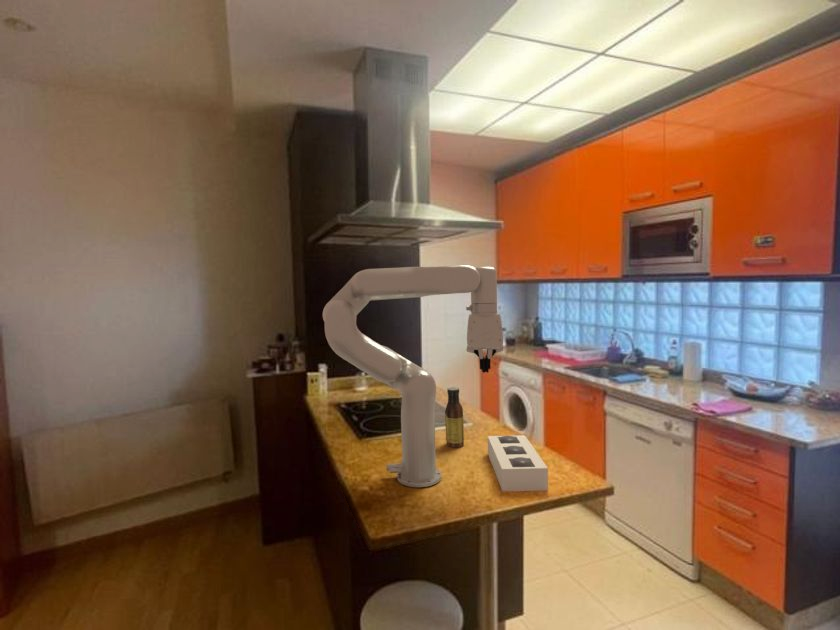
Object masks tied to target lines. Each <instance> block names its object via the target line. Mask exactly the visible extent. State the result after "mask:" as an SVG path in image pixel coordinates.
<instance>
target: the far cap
mask: <svg viewBox="0 0 840 630" xmlns="http://www.w3.org/2000/svg"><path fill="white" fill-rule="evenodd" d="M501 436H502V437H501V444H503V443H517V438H516V437H513V436H514V435H501Z"/></svg>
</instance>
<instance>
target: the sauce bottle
mask: <svg viewBox="0 0 840 630" xmlns="http://www.w3.org/2000/svg"><path fill="white" fill-rule="evenodd" d="M446 391H447V404H446V407H445V410H444V416H445V419H444V420H445V421H444V423H445V440H446V441H445V442H446V445H447V446H449V447H451V448H460V447H463V446H464V444H465V428H464V427H465V425H464V424H465V423H464V422H465V421H464V409H463V406H462V404H461V402H460V388H459V387H448V388H447V389H446Z"/></svg>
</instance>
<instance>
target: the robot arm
mask: <svg viewBox="0 0 840 630" xmlns="http://www.w3.org/2000/svg"><path fill="white" fill-rule="evenodd" d="M497 276H498V275H497V269H496V268H495V267H493V266H479V267H478V266H477V267H474V266H472V265H469V264H466V265H464V264H462V265H445V266H442V265H441V266H405V267H384V268H383V267H382V268H366V269H363V270H360V271H358V272H356V273H355V274H354V275H353V276H352V277H351V278H350V279H349V280H348V281H347V282H346V283H345V285H344V286H343V287H342V288H341V289H340V290H338V292H337V293H336V294H335V295H334V296H332V298H331V299H330V300H329V301H328V302H327V303H326V304H325V306H324V308H323V311H322V320H323V322H324V334H325V338H326V340H327V344H328V345H329V347H330V348H331V350H332V351H333V352H334V353H335V354H336V355H337V356H338V357H340V358H342V360H344V361H347V362H348V363H349V364H351V365H353V366H355V367H356V369H359V370H360V371H362V372H364V373H366V375H368V376H370V377H371V378H372V379H374V380H375V381H377V382H380V383H383V384H385V385H387V386H389V387H391V388H392V389H394V390H396V391H398V392H399V393H400V394H401V406H400V407H401V408H400V427H401V428H400V429H401V430H400V431H401V461H400V462H397V463H386V471H390V474H397V475H396V477H397V482H398V483H400V485H404V486H406V487H410V488H411V487H412V488H427V487H430V486H433V485H436V484H438V483H439V482H440V481H441V480H442V472H441V471H440V469H438V468H437V462H436V461H437V456H436V422H435V420H436V418H435V416H436V415H435V411H436V410H435V407H436V400H437V399H436V397H437V385H436V381H435V378H434V377H433V375H432V374H431V373H430V372H429V371H428V370H427V369H425V368H423V367H421V366H419V365H417V364H416V363H414V362H413V361H411V360H409V359H407V358H406V357H404V356H402V355H401V354H400V353H397V352H396V351H394V349H391V348H390V347H388V346H385V345H381V344H380V343H379V342H376V341H375V340H373V339H371V338H370V337H369V336H367V335H366V334H364V333H362V332H361V330H359V328H358V326H357V316H358V314H359V313H361V311H362V310H363V309H364V308H365V307H366V306H367V305H368V304H369V302H371V301H380V300H381V301H382V300H395V299H410V298H424V297H427V296H428V297H429V296H436V295H438V296H439V295H453V294H467V293H468V294H469V293H470V305H469V304H468V305H466V307H465V310H466V311H469V312H470V314H468V319H467V326H466V327H467V330H466V331H467V332H466V344H467V345H466V352H468V353H471V354H475V355H476V357H478V359H479V370H481V372H482V373H483V374H484V373H489V370H491V369H492V367H491V360H492V358H493V356H494V355H495V354H497V353H502V352H503V351H504V347H503V346H504V334H503V323H502V316H501V313H498V289H497V288H498V287H497V286H498V284H497V281H498V279H497ZM483 350H486V355H485V356H484V351H483Z"/></svg>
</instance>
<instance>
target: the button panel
mask: <svg viewBox="0 0 840 630" xmlns="http://www.w3.org/2000/svg"><path fill="white" fill-rule="evenodd" d="M502 436H503V435H487V456H488V458H489V461H490V462H491V466H492V468H493V471H494V473H495V476H496V478H497V481H498V484H499V487H500V489H501V491H502V492H529V491H530V492H532V491H534V492H535V491H537V492H538V491H540V492H541V491H546V490H547V491H549V468H548V466H547V465H546V463H545V462H544V461H543V459H542V458H541V455H540V454H539V453H538V451H536V449H535V448H534V446H533V445H532V443H531V442H530V441H529V439H528V437H527V436H526V435H523V434H521V435H512V436H513V437H516V438H517V443H503V444H501V437H502ZM508 446H519V447H522V448H523V454H509V455H506V447H508ZM517 457H523V458H527V459H529V460H531V467H512V459H514V458H517Z"/></svg>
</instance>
